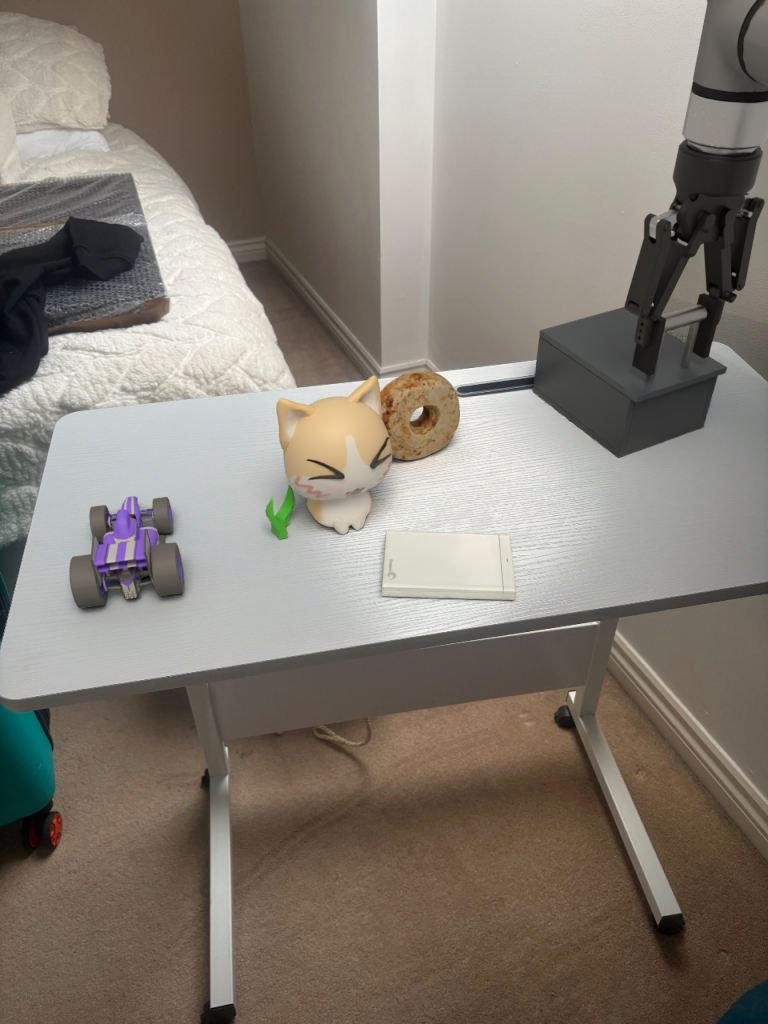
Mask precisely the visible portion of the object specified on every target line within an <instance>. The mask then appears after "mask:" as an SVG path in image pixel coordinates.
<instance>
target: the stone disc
mask: <svg viewBox="0 0 768 1024" xmlns="http://www.w3.org/2000/svg"><path fill="white" fill-rule="evenodd" d="M380 396H381V407H382V421H383V423H384V425H385V427H386V429H387V432H388V435H389V437H390V443H391V448H392V458H395V459H398V460H403V461H414V460H419V459H422V458H426V457H427V456H430V455H433V454H434V453H437V452H438V451H440V450H441V449H443V448H444V447H446V445H448V443H449V442H450V441H451V440H452V439H453V437H454V436H455V433H456V432H457V430H458V428H459V425H460V419H461V418H460V417H461V409H460V407H461V405H460V400H459V396H458V393H457V390H456V389H455V387H454V386H453V385H452V383H451V382H450V381H449V380H448V379H447V378H446V377H445V376H443V375H442V374H439V373H437V372H435V371H429V370H412V371H408V372H406V373H403V374H401V375H399V376H398V377H396V378H394V379H393V380H391V381H390V382H388V383H387V384H386V385H385V386H384V387H383V388H382V389H381V390H380ZM421 408H422V412H421V414H420V415H418V418H416V419H414V420H412V421H411V418H412V417H413V414H414V413H415V412H416V411H417V410H419V409H421Z"/></svg>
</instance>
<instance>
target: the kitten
mask: <svg viewBox="0 0 768 1024" xmlns="http://www.w3.org/2000/svg"><path fill="white" fill-rule="evenodd" d="M379 381H380V380H379V378H378V377H377V375H371V376H370V377H368V378H367V379H366V380H365V381H364V382H363V383H362V384H360V385H359V386H358V387H357V388H356V389H354V390H353V391H351V393H350V394H349V395H348V396H330V397H323V398H321V399H318V400H316V401H314V402H311V403H310V404H305V403H301V402H297V401H293V400H290V399H287V398H285V397H281V398H279V399H278V400H277V401H276V406H275V409H276V416H277V423H278V440H279V441H278V442H279V444H280V447H281V449H282V451H283V454H282V455H283V466H284V471H285V475H286V478H287V481H288V483H289V485H288V486H287V491H286V493H285V497H284V500H283V503H282V505H281V506H280V508H279V509H278V511H277V512H276V514H275V511H274V496H272V497H271V499H270V500H269V501H268V504H267V505H266V508H265V510H264V511H265V516H266V518H267V519H268V520H269V522H270V526H271V532H272V533H273V534H274V535H275V536H276V537H277V538H278V540H283V539H288V537H289V536H288V530H287V527H288V526H289V525H291V521H290V517H291V516H292V513H293V511H294V510H295V504H296V497H295V493H297V494H298V495H300V496H301V497H303V498H305V499H306V506H307V510H308V511H309V513H310V514H311V516H312V517H313V518H314V520H315V521H316V522H317V523H319V524H321V525H322V526H325V527H329V528H334V530H335V531H336V532H337V533H339V534H341V535H346V534H347V533H348V532H349V529H350V526H351V527H352V528H353V529H354V530H356V531H358V530H359V531H360V530H361V529H362V528H363V527H364V524H365V522H366V518H367V516H368V514H369V513H370V512H371V509H372V497H371V494H370V492H369V490H371V489H372V488H374V487H376V486H377V485H378V484H380V483H381V482H383V480H384V479H385V478H386V477H387V475H388V474H389V473H390V470H391V467H392V463H393V456H392V448H391V443H390V437H389V435H388V432H387V429H386V427H385V425H384V423H383V421H382V407H381V396H380V392H381V387H380V382H379Z"/></svg>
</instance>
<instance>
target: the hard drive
mask: <svg viewBox="0 0 768 1024" xmlns="http://www.w3.org/2000/svg"><path fill="white" fill-rule="evenodd" d="M384 539H385V540H384V551H383V553H384V554H383V565H382V577H381V578H382V579H381V597H392V598H397V597H398V598H422V599H424V598H425V599H428V598H429V599H459V600H460V599H465V600H497V601H498V600H500V601H501V600H502V601H503V600H504V601H515V600H516V596H517V595H516V589H517V588H516V579H515V577H516V576H515V569H514V560H513V547H512V539H511V534H510V533H507V534H506V533H480V532H479V533H478V532H453V531H452V532H451V531H418V530H391V529H390V530H386V531H385V538H384Z"/></svg>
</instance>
